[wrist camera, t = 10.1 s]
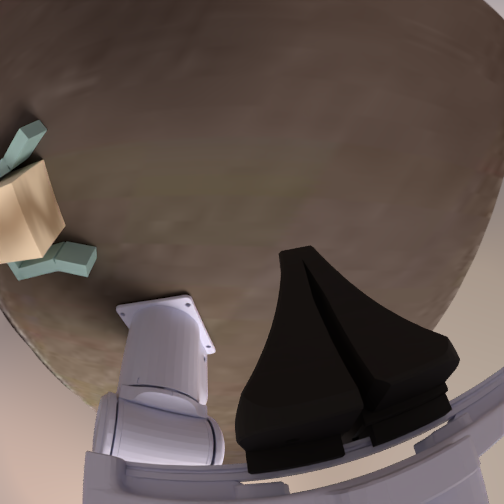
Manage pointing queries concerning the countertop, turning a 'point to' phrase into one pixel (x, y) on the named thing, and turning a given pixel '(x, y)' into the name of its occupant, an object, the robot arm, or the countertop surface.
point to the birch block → (27, 214)
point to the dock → (58, 255)
